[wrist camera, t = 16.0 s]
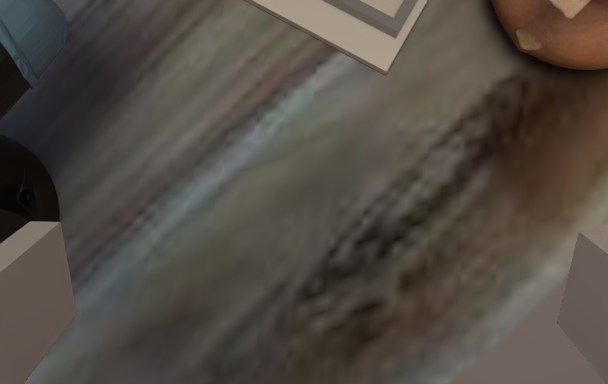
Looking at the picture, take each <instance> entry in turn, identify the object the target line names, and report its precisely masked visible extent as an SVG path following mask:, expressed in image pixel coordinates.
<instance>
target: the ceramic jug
mask: <svg viewBox="0 0 608 384" xmlns="http://www.w3.org/2000/svg"><path fill="white" fill-rule="evenodd" d="M491 1H492V4H493V7H494V10H495V12H496V15H497V17H498V19H499V21H500V22H501V24H502V26H503V27H504V29H505V30H506V32H507V33H508V35H509V36H510V37H511V38H512V41H513V43H514V44H515V45H516V47H517V48H518V50H520V51H522V52H525V53H527V54H529V55H531V56H534V57H536V58H538V59H540V60H542V61H544V62H547V63H549V64H552V65H556V66H560V67H564V68H569V69H578V70H597V69H605V68H608V0H491Z"/></svg>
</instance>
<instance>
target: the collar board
mask: <svg viewBox="0 0 608 384" xmlns="http://www.w3.org/2000/svg"><path fill="white" fill-rule="evenodd" d="M245 1H247V2H249V3H251V4H253V5H255V6H256V7H258V8H260V9H262V10H264V11H266V12H268V13H270V14H271V15H273V16H275V17H277V18H279V19H281V20H283V21H285V22H286V23H288V24H290V25H292V26H294V27H296V28H298V29H300V30H301V31H303V32H305V33H307V34H309V35H311V36H313V37H315V38H316V39H318V40H320V41H322V42H324V43H326V44H328V45H330V46H331V47H333V48H335V49H337V50H339V51H341V52H343V53H345V54H346V55H348V56H350V57H352V58H354V59H356V60H358V61H360V62H361V63H363V64H365V65H367V66H369V67H371V68H373V69H375V70H376V71H378V72H380V73H382V74H384V75H386V74H387V72H388V70H389V69H390V67H391V65H392V63H393V62H394V60H395V58H396V56H397V55H398V53H399V51H400V49H401V48H402V46H403V44H404V42H405V41H406V39H407V37H408V35H409V34H410V32H411V30H412V28H413V27H414V25H415V23H416V21H417V20H418V18H419V16H420V14H421V13H422V11H423V9H424V7H425V6H426V4H427V2H428V0H245Z"/></svg>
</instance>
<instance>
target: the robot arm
mask: <svg viewBox="0 0 608 384" xmlns="http://www.w3.org/2000/svg"><path fill="white" fill-rule="evenodd" d="M67 37H68V26H67V21H66V18H65V16H64V14H63V12H62V11H61V9H60V8H59V7H58V5H57V4H56V3H55V2H54V1H53V0H0V120H1V119H2V118H3V117H4V115H5V114H6V113H7V112H8V111H9V110H10V109H11V108H12V106H13V105H14V104H15V103H16V102H17V101H18V100H19V99H20V97H21V96H22V95H23V94H24V93H25V92H26V91H27V90H28V89H29V87H30V88H32V89H34V88H35V87H36V86H37V85H38V83H39V82H38V78H39V76H40V75H41V74H42V73H43V71H44V70H45V69H46V68H47V66H48V65H49V64H50V63H51V62H52V60H53V59H54V58H55V57H56V55H57V54H58V53H59V52H60V50H61V49H62V48H63V46H64V45H65V43H66V40H67ZM58 218H59V217H58V203H57V197H56V193H55V189H54V186H53V184H52V181H51V179H50V177H49V175H48V173H47V171H46V170H45V168H44V167H43V165H42V164H41V162H40V161H39V160H38V159H37V158H36V157H35V156H34V155H33V154H32V153H31V152H30V151H29V150H28V149H27V148H25V147H24V146H22V145H21V144H19V143H18V142H16V141H14V140H12V139H9V138H7V137H4V136H1V135H0V384H23V383H24V382H25V381H26V379H27V378H28V377H29V376H30V374H31V373H32V372H33V370H34V369H35V368H36V367H37V365H38V364H39V363H40V361H41V360H42V359H43V357H44V356H45V355H46V354H47V352H48V351H49V350H50V348H51V347H52V346H53V345H54V343H55V342H56V341H57V339H58V338H59V337H60V335H61V334H62V333H63V332H64V330H65V329H66V328H67V326H68V325H69V324H70V323H71V321H72V320H73V319H74V317H75V316H76V315H77V311H76V306H75V300H74V294H73V289H72V283H71V278H70V272H69V266H68V261H67V255H66V250H65V244H64V239H63V233H62V227H61V222H58ZM557 323H558V325H559V326H560V327H561V328H562V330H563V331H564V332H565V333H566V335H567V336H568V337H569V338H570V340H571V341H572V342H573V343H574V344H575V346H576V347H577V348H578V349H579V351H580V352H581V353H582V354H583V356H584V357H585V358H586V359H587V360H588V362H589V363H590V364H591V365H592V367H593V368H594V369H595V370H596V372H598V374H599V375H600V377H601V378H602V379H603V380H604V381H605V383H606V384H608V232H592V231H579V234H578V238H577V242H576V246H575V250H574V254H573V258H572V263H571V267H570V271H569V275H568V279H567V283H566V287H565V291H564V296H563V300H562V304H561V308H560V312H559V316H558V320H557Z"/></svg>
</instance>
